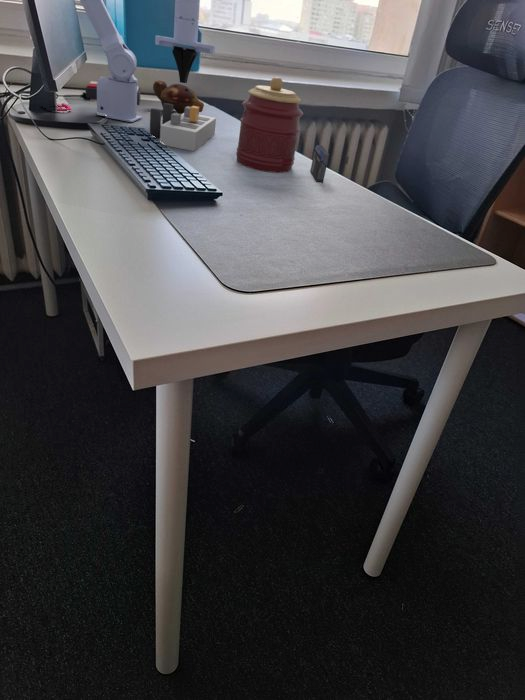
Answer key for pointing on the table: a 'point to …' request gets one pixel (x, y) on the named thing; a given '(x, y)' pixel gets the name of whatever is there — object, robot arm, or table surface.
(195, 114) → the block
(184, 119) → the breaker panel
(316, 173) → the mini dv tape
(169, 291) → the table surface
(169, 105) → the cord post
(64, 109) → the fitness band
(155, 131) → the disc
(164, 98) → the decorative turtle
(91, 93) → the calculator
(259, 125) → the canister
